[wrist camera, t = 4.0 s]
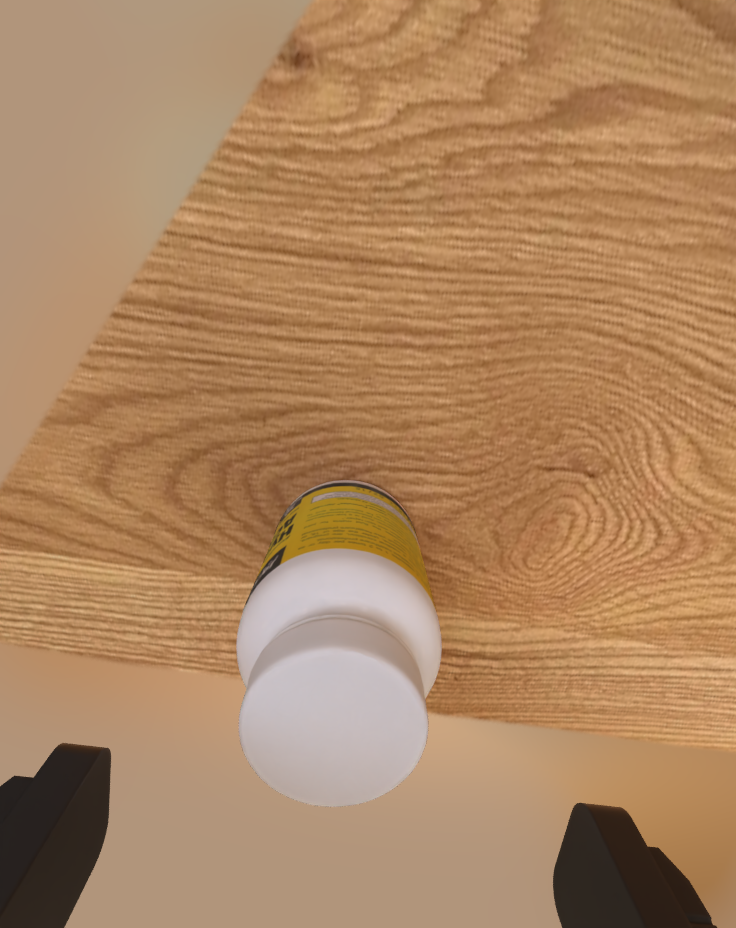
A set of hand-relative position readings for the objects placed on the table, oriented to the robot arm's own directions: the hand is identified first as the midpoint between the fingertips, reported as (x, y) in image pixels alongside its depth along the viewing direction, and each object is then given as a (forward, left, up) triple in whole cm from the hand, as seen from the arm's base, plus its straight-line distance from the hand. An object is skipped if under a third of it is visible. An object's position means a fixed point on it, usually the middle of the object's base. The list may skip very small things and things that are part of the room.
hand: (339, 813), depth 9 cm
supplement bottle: (0, 0, -12) cm, 12 cm away
